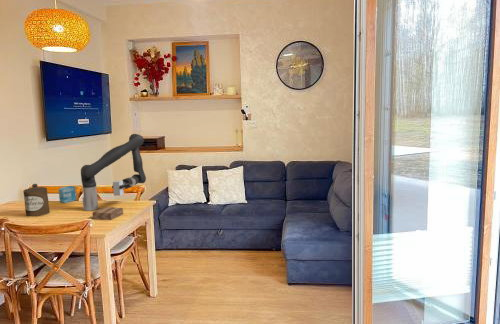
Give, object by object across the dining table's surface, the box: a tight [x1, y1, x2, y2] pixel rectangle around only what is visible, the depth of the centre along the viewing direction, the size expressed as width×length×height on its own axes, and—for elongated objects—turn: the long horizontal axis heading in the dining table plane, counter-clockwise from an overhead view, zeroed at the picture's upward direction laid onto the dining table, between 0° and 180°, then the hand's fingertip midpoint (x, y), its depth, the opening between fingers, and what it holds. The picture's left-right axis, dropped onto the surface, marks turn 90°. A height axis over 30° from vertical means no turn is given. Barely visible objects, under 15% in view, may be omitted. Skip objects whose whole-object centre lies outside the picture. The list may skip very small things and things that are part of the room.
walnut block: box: [92, 206, 124, 221], centre depth 254 cm, size 14×14×5 cm
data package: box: [58, 185, 77, 204], centre depth 301 cm, size 12×4×12 cm, turn 155°
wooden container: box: [22, 183, 50, 217], centre depth 264 cm, size 15×15×22 cm
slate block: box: [112, 180, 125, 197], centre depth 267 cm, size 5×5×10 cm
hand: (116, 187), depth 264 cm, fingers closed on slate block, 5 cm apart
